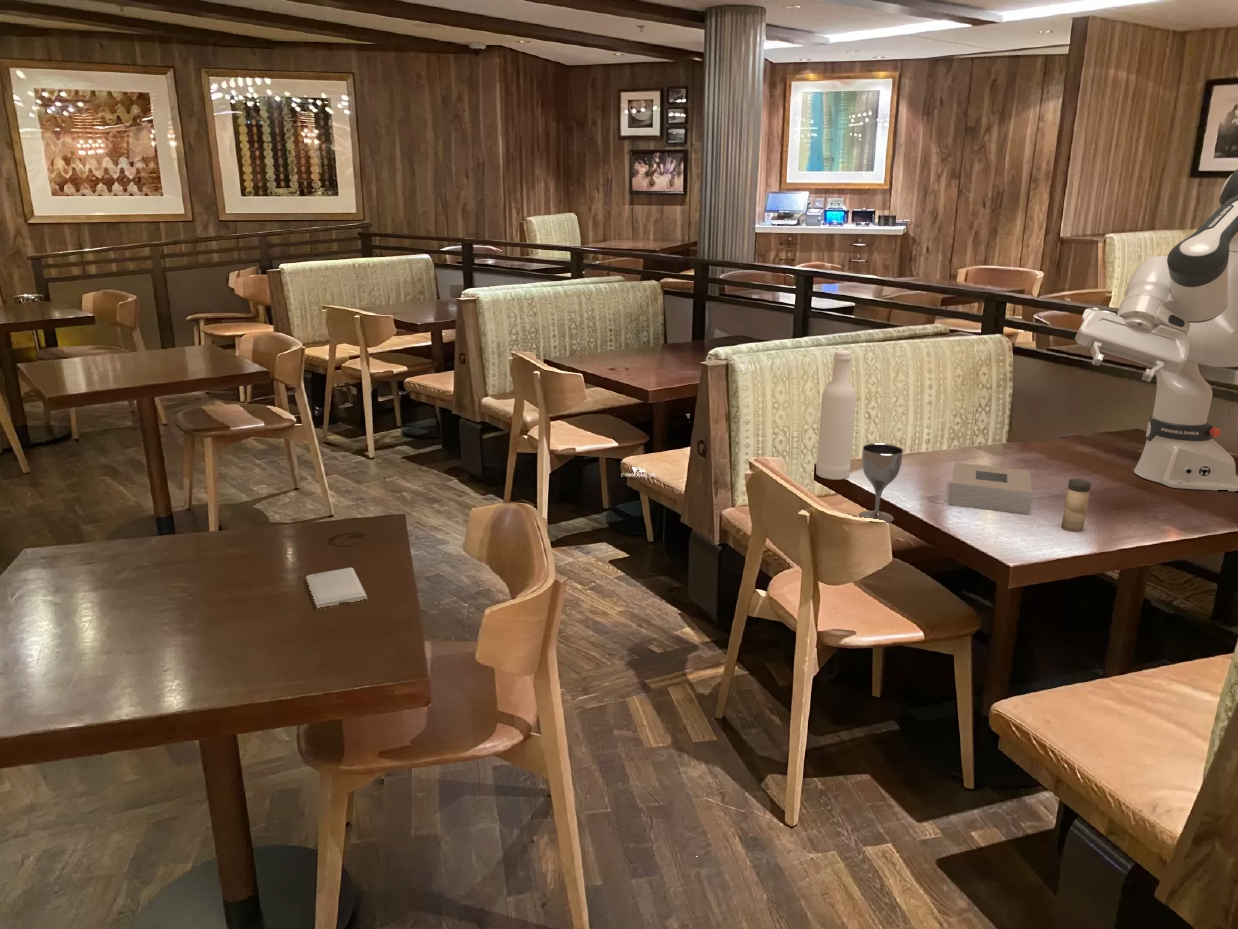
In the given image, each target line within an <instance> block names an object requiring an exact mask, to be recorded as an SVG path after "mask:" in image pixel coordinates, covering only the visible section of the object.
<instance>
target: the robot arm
mask: <svg viewBox="0 0 1238 929" xmlns="http://www.w3.org/2000/svg"><path fill="white" fill-rule="evenodd" d="M1218 202H1219V205H1220V207H1219V208H1218V209H1217V210H1215V212H1214V213H1213V214H1212V215H1211V216H1210V217H1209V218H1208V219H1207V220H1206V221H1205V222H1204V223H1203V224H1202V225H1201V226H1200V227H1199V228H1198V229H1197V230H1196V231H1194V233H1192V234H1191V235H1190V236H1188V237H1186V238H1184V239H1183V240H1182V241H1181V240H1180V242H1178V243H1177V244H1176V245H1174V246H1173V247H1172V249H1171V250H1170V251H1169V253H1168V255H1155V256H1151V257H1149V258H1147V259H1145V260H1144V261H1143V262H1141V263H1140V264H1139V265H1138V267H1136V268H1135V270H1134V271H1133V273H1132V276H1131V278H1130V279H1129V282H1128V284H1127V286H1126V288H1125V291H1124V298H1123V300H1122V301H1121V302H1120V304H1119V306H1118V310H1117V312H1113V311H1111V310H1104V309H1101V308H1099V307H1093V308H1091V307H1090V308H1086V309H1085V310H1084V311H1083V313H1082V316H1081V321H1082V323H1081V325H1080V326H1079V329H1078V331H1077V333H1076V334H1075V337H1074V340H1075V342H1076V343H1077V344H1078V345H1080V346H1084V347H1087V348H1089V349H1090V351H1089V352H1090V353H1091V354H1090V355H1091V356H1092V358H1093V359H1092V361H1091V364H1092V365H1094V366H1098V367H1100V366H1101V364H1102V361H1103V359H1104V357H1105V355H1104V354H1102V353H1101V352H1103V353H1106V354H1109V355H1113V356H1116V357H1119V358H1123V359H1126V360H1129V361H1133V362H1135V363H1139V364H1142V365H1145V366H1149V367H1151V369H1150V368H1146V369H1145V371H1144V372H1143V374H1142V377H1141V380H1143V381H1146V382H1151V381H1152V378H1153V377H1154V376H1155V375H1156V391H1155V392H1156V394H1155V400H1154V405H1153V411H1152V415H1151V416H1150V417H1149V420H1148V422H1147V428H1146V433H1145V439H1146V441H1145V444H1144V448H1143V450H1142V453H1141V455H1140V458H1139V460H1138V462H1137V464H1136V466H1135V468H1134V469H1133V473H1134V474H1136V475H1137V476H1139V477H1140V478H1143V479H1146V480H1149V481H1152V482H1156V483H1159V484H1162V485H1165V486H1167V487H1170V488H1173V489H1187V490H1188V489H1189V490H1190V489H1191V490H1205V491H1206V490H1207V491H1218V490H1228V491H1227V492H1235V491H1238V475H1237V474H1236V469H1237V468H1236V462H1235V458H1234V457H1233V456H1232V455H1231V454H1230V453H1229V452H1228V451H1227V450H1226V449H1225V448H1224V447H1222V445H1220V444H1219V443H1218V442H1217V441H1216V440H1215V439H1213V438H1219V436H1221V435H1222V431H1221V430H1220V429H1219V428H1218V427H1216V426H1214V425H1213V424H1211V423H1209V422H1208V416H1209V414H1210V408H1211V403H1212V398H1213V389H1212V387H1211V385H1210V384H1209V383H1208V382H1207V381H1206V379H1205V378H1203V376H1202V374H1201V372H1200V369H1199V365H1204V366H1208V367H1212V368H1213V367H1215V368H1236V367H1237V368H1238V168H1237V169H1236V170H1235V171H1234V172H1233V173H1232V174H1230V176H1228V178H1227V179H1226V180H1225V181H1224V183H1223V185H1222V187H1221V190H1220V195H1219V200H1218ZM1198 364H1199V365H1198Z"/></svg>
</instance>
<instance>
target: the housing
mask: <svg viewBox="0 0 1238 929" xmlns="http://www.w3.org/2000/svg"><path fill="white" fill-rule="evenodd" d="M953 464H954V466H953V473H952V478H951V479H952V480H951V487H950V488H951V490H950V494H949V495H950V496H949V503H948V504H951V505H950V506H957V505H958V506H960V507H965V508H973V507H975V509H982V510H990V511H998V512H999V511H1000V512H1006V513H1015V514H1019V515H1020V514H1021V515H1029V514H1030V509H1031V504H1032V503H1031V501H1032V497H1033V496H1032V495H1033V489H1032V480H1031V473H1030V472H1031V471H1030V470H1027V469H1019V468H1016V469H1015V468H1010V467H1000V466H999V467H998V466H991V465H982V464H971V463H962V462H954V463H953Z"/></svg>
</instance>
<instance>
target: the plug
mask: <svg viewBox="0 0 1238 929" xmlns="http://www.w3.org/2000/svg"><path fill="white" fill-rule="evenodd" d="M1091 486H1092V482H1091V481H1089V480H1086V479H1083V478H1081V479H1080V478H1070V479H1068V485H1067V491H1066V497H1065V504H1064V509H1063V513H1062V514H1063V516H1062V519H1061V525H1060V526H1061V529H1063V530H1065V531H1067V532H1068V531H1069V532H1073V531H1080V532H1082V531H1084V526H1085V520H1086V515H1087V508H1088V505H1089V504H1088V503H1089V498H1090V492H1091Z"/></svg>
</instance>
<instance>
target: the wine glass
mask: <svg viewBox="0 0 1238 929" xmlns="http://www.w3.org/2000/svg"><path fill="white" fill-rule="evenodd" d="M903 454H904V450H903V448H902V447H900V446H897V445H894V444H889V443H877V442H876V443H868V444H865V445H863V447H862V454H861V455H862V458H861V459H862V461H861V462H862V469H863V470H862V471H863V473H864V475H865V477H866V478H867V480H868V482H870V484H871V485H872V487H873V489H874V492H875V493H874V494H875V503H874V504H875V505H874V510H865V511H862V512H860V513H859V514H858V517H859V518H860V517H864V518H873V519H879V520H884V521H886V522H888V523H891V522H893V521H894V520H895V518H894V516H893V515H892V514H889V513H887V512H884V511H880V502H881V497H882V493H883V491H884V489H886V487H887V486H888V485H890V483H892V482H893V481H894V480H895V479H896V478H897V476H898V474H899V472H900V469H901V466H902V461H903Z"/></svg>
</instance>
